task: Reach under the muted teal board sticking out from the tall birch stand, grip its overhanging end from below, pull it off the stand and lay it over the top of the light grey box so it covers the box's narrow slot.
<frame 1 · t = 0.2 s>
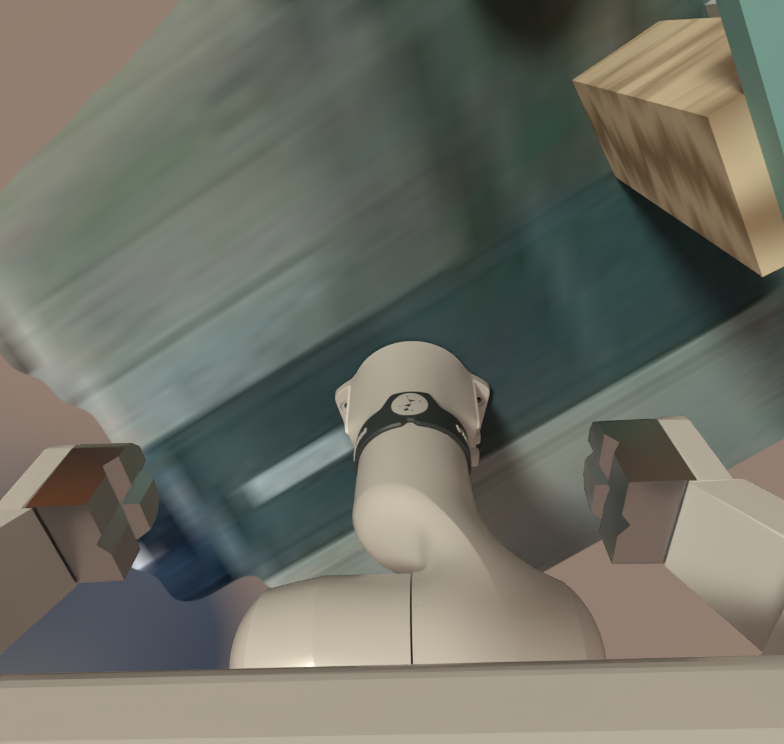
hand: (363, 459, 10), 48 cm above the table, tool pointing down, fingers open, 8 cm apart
birch stand: (635, 104, 50), on the table
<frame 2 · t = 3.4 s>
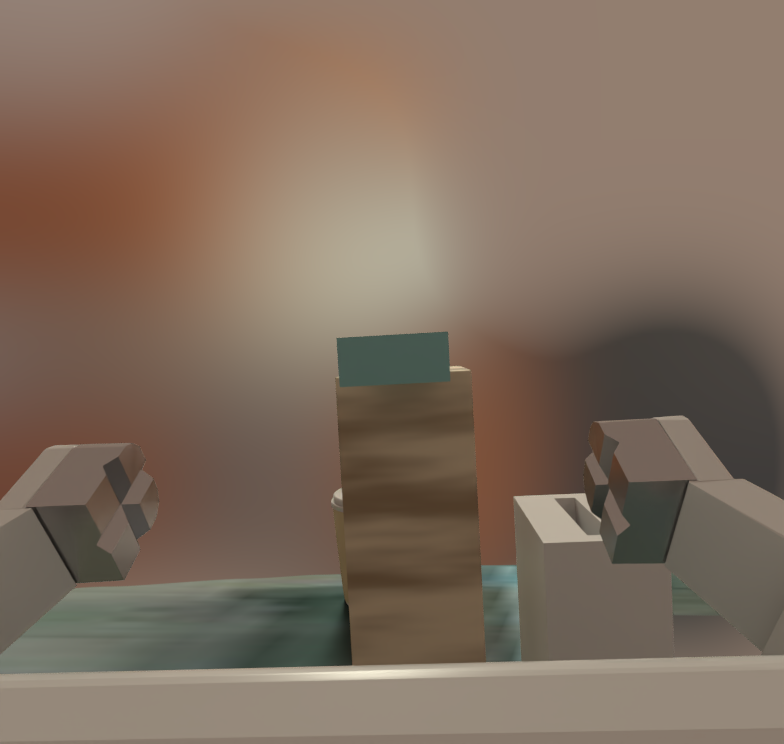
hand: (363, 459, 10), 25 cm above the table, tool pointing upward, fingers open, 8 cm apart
teal board: (404, 371, 36), point 26 cm above the table, touching birch stand
coffee cup: (378, 598, 61), on the table
birch stand: (425, 743, 38), on the table
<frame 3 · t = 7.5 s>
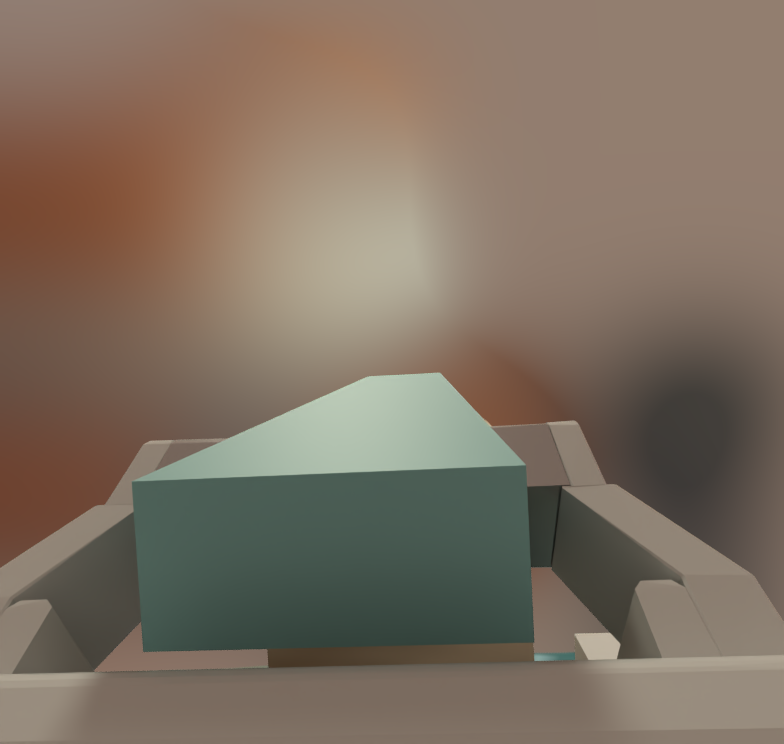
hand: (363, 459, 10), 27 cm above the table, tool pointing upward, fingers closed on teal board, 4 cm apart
teal board: (394, 443, 20), point 26 cm above the table, touching birch stand, gripper
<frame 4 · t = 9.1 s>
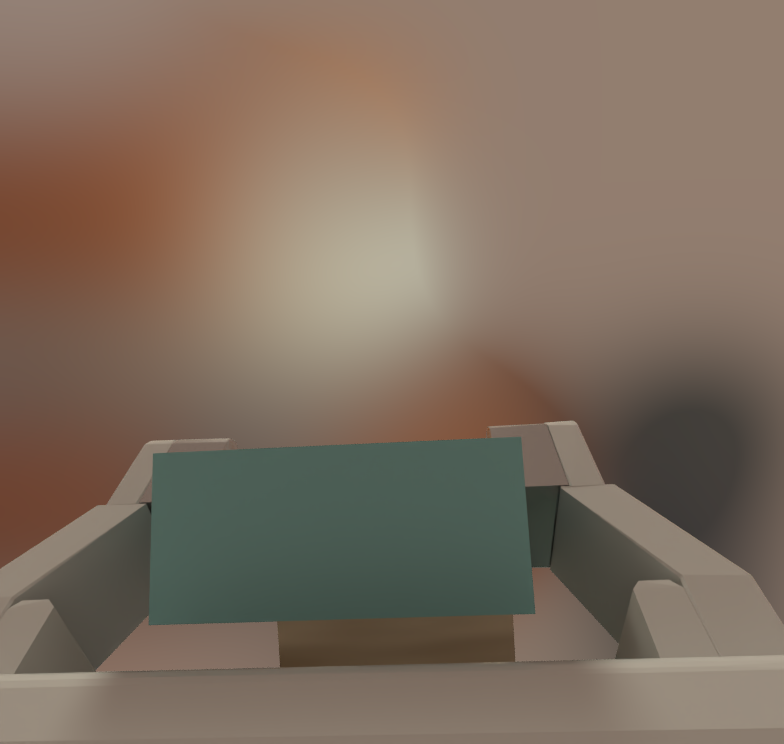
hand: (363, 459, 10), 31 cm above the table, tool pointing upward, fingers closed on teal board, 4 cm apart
teal board: (396, 507, 20), point 28 cm above the table, tilted 11°, touching gripper
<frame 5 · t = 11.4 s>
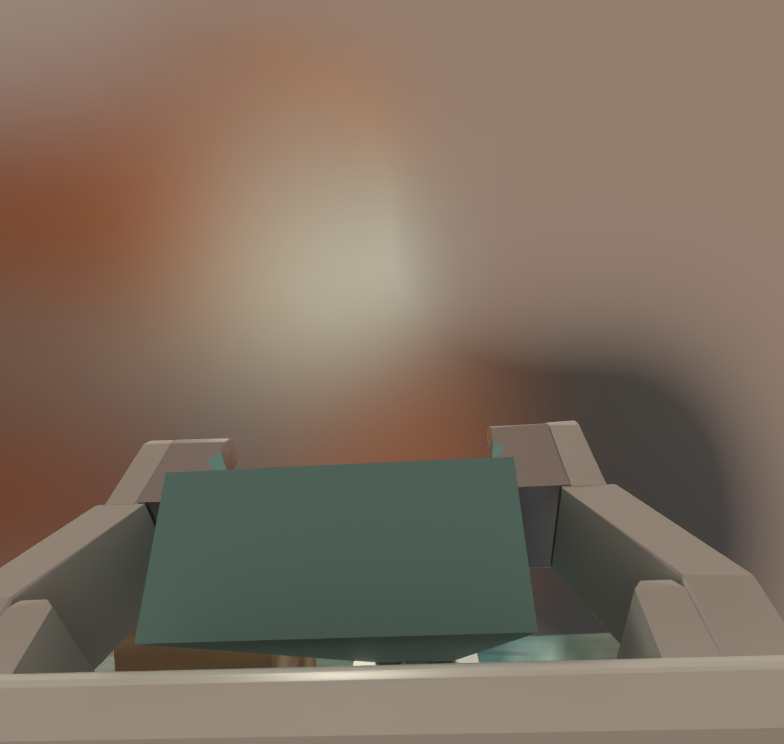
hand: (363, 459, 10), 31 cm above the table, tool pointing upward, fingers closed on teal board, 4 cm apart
teal board: (401, 657, 18), point 23 cm above the table, tilted 30°, touching gripper
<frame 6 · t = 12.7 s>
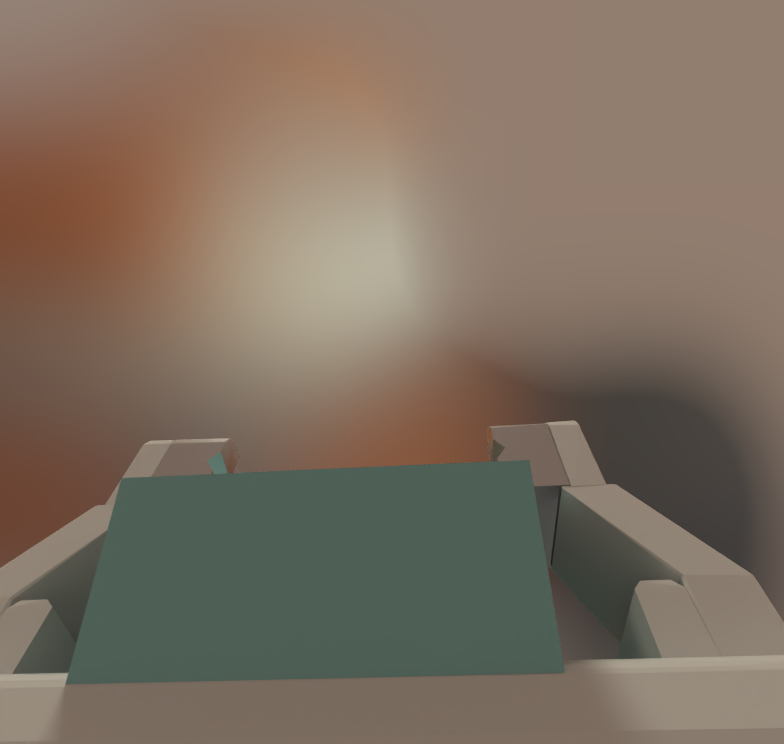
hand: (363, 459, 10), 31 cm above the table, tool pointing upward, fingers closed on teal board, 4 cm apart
teal board: (402, 714, 17), point 22 cm above the table, tilted 35°, touching gripper
when the fingers open (19 cm above the table, at t = 15.4 s): teal board stays where it is, resting on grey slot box.
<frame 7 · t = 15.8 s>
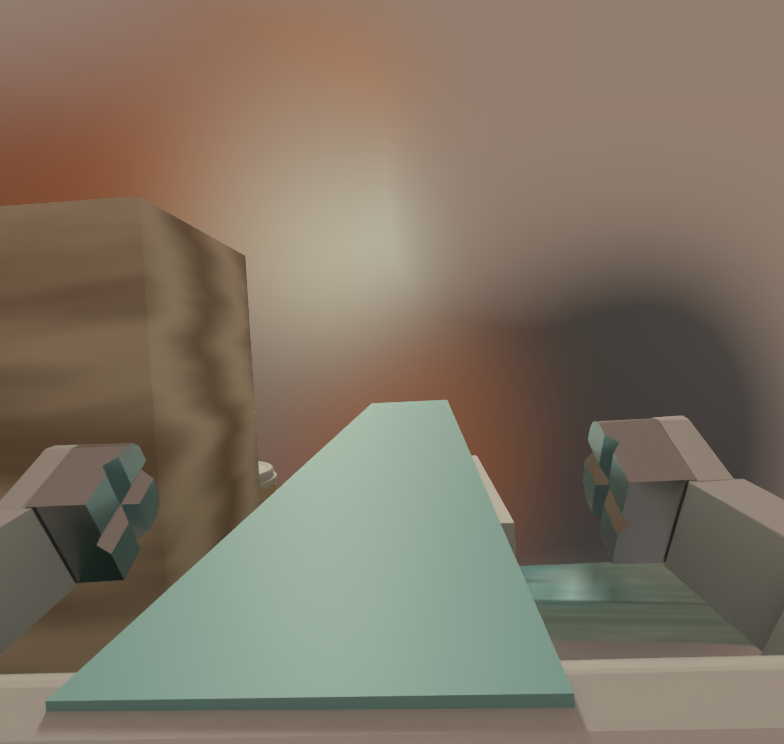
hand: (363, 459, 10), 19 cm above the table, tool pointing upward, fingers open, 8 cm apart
teal board: (399, 496, 19), point 16 cm above the table, touching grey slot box
coffee cup: (228, 615, 46), on the table
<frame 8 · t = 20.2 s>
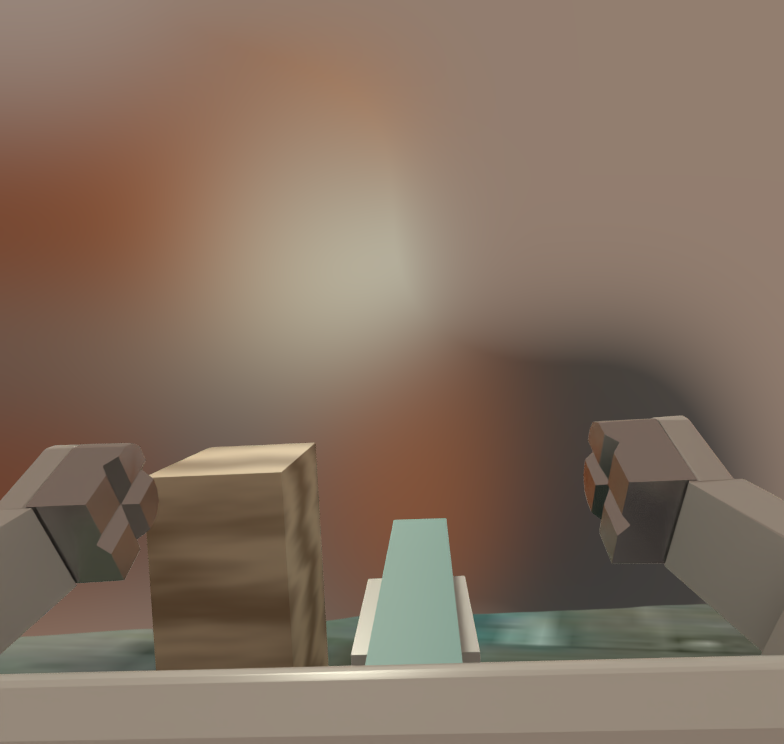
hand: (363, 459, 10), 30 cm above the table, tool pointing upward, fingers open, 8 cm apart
teal board: (418, 622, 33), point 16 cm above the table, touching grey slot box
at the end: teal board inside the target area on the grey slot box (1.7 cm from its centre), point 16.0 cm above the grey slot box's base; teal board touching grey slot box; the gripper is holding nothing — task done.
